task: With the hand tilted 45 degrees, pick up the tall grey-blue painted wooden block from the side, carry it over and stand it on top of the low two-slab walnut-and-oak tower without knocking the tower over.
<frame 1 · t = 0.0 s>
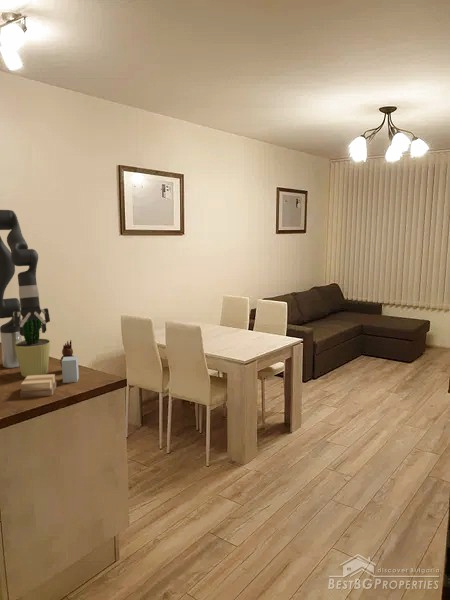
hand: (33, 334, 192), 22 cm above the table, tool pointing down, fingers open, 8 cm apart
tower top: (38, 385, 188), point 2 cm above the table, touching tower base
potted cactus: (34, 373, 211), on the table
wooden figurine: (68, 371, 215), on the table
tower base: (39, 392, 188), on the table, touching tower top
block: (71, 380, 202), on the table
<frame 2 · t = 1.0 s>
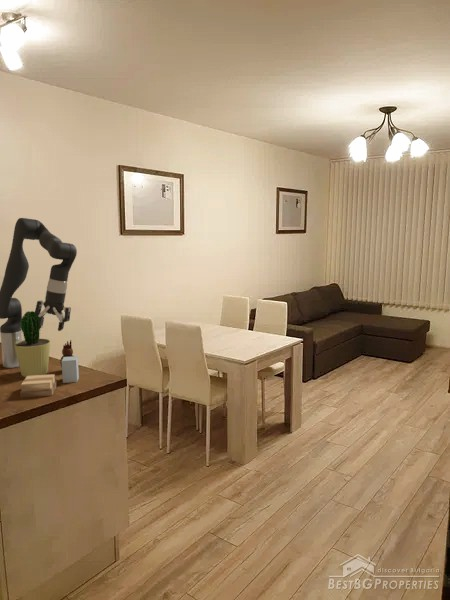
hand: (50, 328, 189), 26 cm above the table, tool pointing down, fingers open, 8 cm apart
nothing on the table moved.
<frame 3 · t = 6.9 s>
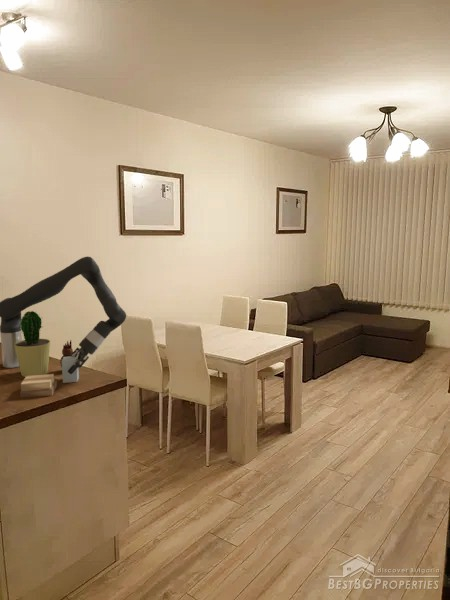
hand: (67, 370, 200), 5 cm above the table, tool tilted 45°, fingers closed on block, 8 cm apart
block: (71, 380, 202), on the table, touching gripper
everything else where it was.
when the fingers open (12 cm above the table, at t = 14.4 s): block drops 2 cm, resting on tower top.
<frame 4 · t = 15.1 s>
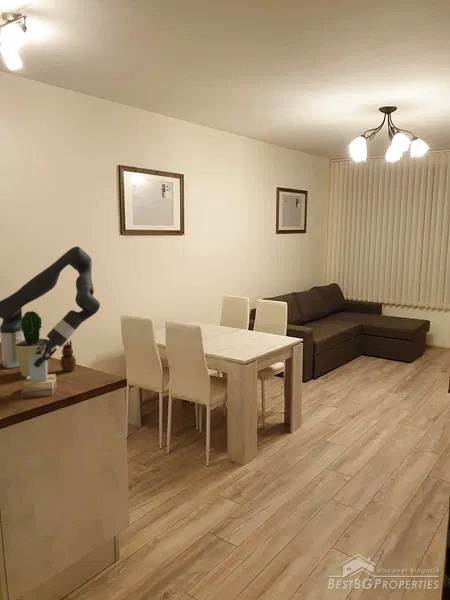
hand: (33, 363, 185), 12 cm above the table, tool tilted 45°, fingers open, 8 cm apart
tower top: (40, 385, 188), point 2 cm above the table, touching block, tower base
block: (39, 379, 187), point 5 cm above the table, touching tower top
everything else where it was.
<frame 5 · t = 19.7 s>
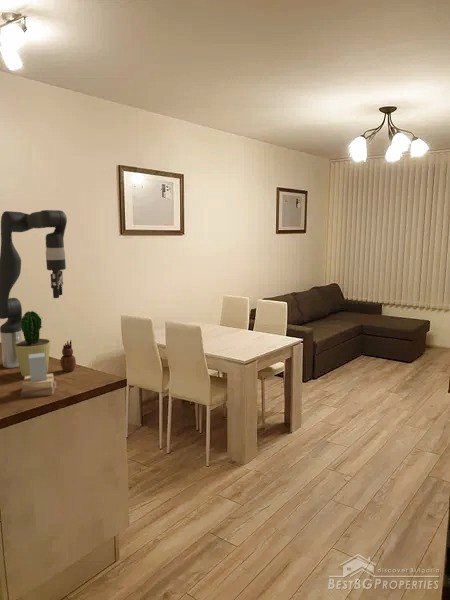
hand: (58, 296, 193), 38 cm above the table, tool pointing down, fingers open, 8 cm apart
at the end: block inside the target area on the tower top (0.4 cm from its centre), point 3.0 cm above the tower top's base; block tilted 1°; tower top moved 0.8 cm from its start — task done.
